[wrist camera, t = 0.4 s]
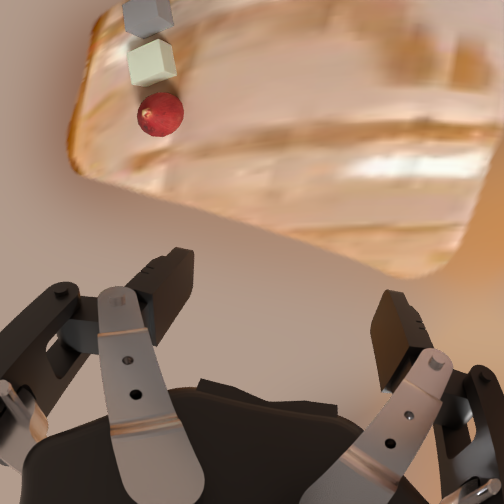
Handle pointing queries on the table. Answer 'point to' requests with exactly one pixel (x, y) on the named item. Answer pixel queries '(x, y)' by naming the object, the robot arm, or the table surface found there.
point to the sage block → (151, 63)
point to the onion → (160, 114)
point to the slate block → (147, 17)
